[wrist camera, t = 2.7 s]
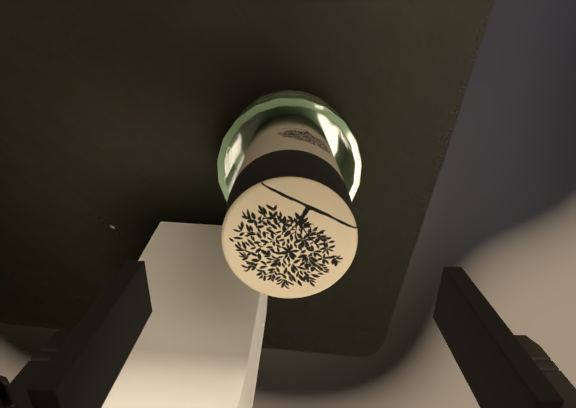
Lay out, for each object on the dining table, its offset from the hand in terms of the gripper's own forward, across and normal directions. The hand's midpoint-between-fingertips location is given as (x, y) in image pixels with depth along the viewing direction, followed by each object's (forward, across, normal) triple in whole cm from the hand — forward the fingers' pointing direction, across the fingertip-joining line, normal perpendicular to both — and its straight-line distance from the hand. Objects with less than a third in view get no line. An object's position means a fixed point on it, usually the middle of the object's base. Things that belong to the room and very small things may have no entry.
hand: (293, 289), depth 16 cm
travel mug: (+22, 0, 0) cm, 22 cm away
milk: (+22, -8, -14) cm, 28 cm away
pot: (+22, 0, 0) cm, 22 cm away
